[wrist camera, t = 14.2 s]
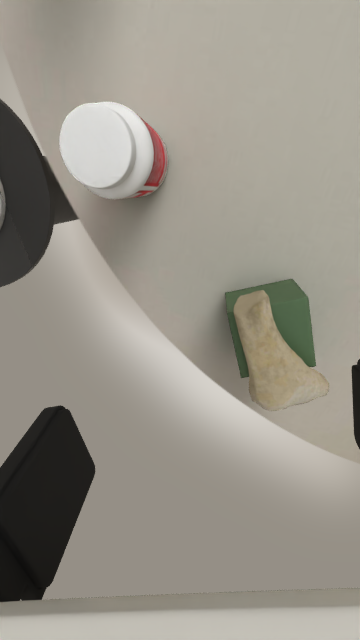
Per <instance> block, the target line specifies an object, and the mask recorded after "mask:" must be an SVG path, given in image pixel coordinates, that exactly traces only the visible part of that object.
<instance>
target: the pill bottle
mask: <svg viewBox="0 0 360 640" xmlns="http://www.w3.org/2000/svg"><path fill="white" fill-rule="evenodd" d="M59 143H60V145H59V146H60V152H61V156H62V159H63V161H64V164H65V166H66V167H67V169H68V171H69V172H70V173H71V174H72V176H73V177H74V178H75V179H77V180H78V181H79V182H81V183H82V184H83V185H84V186H85V187H86V188H87V189H88V190H89V191H91V192H92V193H94V194H96V195H98V196H100V197H103V198H107V199H125V198H134V197H142V196H146V195H149V194H151V193H152V192H154V191H155V190H156V189H158V188H159V186H160V185H161V184H162V182H163V181H164V179H165V176H166V174H167V170H168V154H167V149H166V146H165V144H164V142H163V140H162V139H161V137H160V136H159V135H158V133H157V132H156V131H155V130H154V129H153V128H151V127H150V126H149V125H148V124H147V123H146V122H145V121H144V120H143V119H142V118H140V117H139V116H138V115H137V114H136V113H135V112H134V111H132V110H131V109H129V108H128V107H126V106H124V105H122V104H119V103H115V102H99V103H86V104H82V105H80V106H78V107H76V108H75V109H73V110H72V111H71V112H70V113H69V114H68V115H67V117H66V118H65V120H64V122H63V124H62V127H61V131H60V138H59Z"/></svg>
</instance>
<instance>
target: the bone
mask: <svg viewBox="0 0 360 640" xmlns="http://www.w3.org/2000/svg"><path fill="white" fill-rule="evenodd" d="M234 316H235V320H236V324H237V328H238V333H239V336H240V340H241V343H242V346H243V350H244V353H245V357H246V361H247V365H248V370H249V392H250V395H251V398H252V400H253V401H254V402H255V403H257V404H259V405H260V406H261V407H262V408H264V409H266V410H269V411H277V410H283V409H286V408H287V407H289V406H292V405H298V404H304V403H307V402H310V401H312V400H313V399H315V398H318V397H321V396H325V395H327V393H328V392H329V383H328V382H327V380H326V379H325V378H324V376H323V375H322V374H321V373H319V372H317V371H316V370H314V369H311V368H310V367H308V366H307V365H306V364H305V363H304V362H303V360H302V359H301V358H300V357H299V356H298V355H297V354H296V353H295V352H294V351H293V350H292V349H291V348H290V347H289V346H288V344H287V343H286V342H285V341H284V339H283V338H282V336H281V334H280V332H279V331H278V329H277V327H276V324H275V322H274V319H273V316H272V310H271V306H270V301H269V297H268V295H267V294H266V293H265V291H264V290H259V291H254V292H252V293H250V294H246V295H241V296H240V297H239V298H238V299H237V302H236V304H235V305H234Z"/></svg>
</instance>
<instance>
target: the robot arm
mask: <svg viewBox="0 0 360 640" xmlns="http://www.w3.org/2000/svg"><path fill="white" fill-rule="evenodd" d="M5 211H6V203H5V194H4V190H3V185H2V183H1V180H0V229H1V227H2V224H3V222H4V218H5ZM352 390H353V417H354V436H355V440H356V443H357V445H358V447H359V449H360V359H359V360H358V362H357V365H353V366H352ZM94 474H95V465H94V462H93V460H92V458H91V456H90V454H89V452H88V450H87V447H86V445H85V443H84V441H83V439H82V436H81V434H80V432H79V430H78V428H77V426H76V424H75V421H74V419H73V417H72V415H71V413H70V411H69V410H68V409H65V407H63V406H55V407H48V408H45V409H44V410H43V411H42V412H41V413H40V415H39V416H38V417H37V419H36V420H35V421H34V423H33V424H32V425H31V427H30V428H29V429H28V431H27V432H26V434H25V435H24V436H23V438H22V439H21V440H20V442H19V443H18V444H17V446H16V447H15V448H14V450H13V451H12V452H11V454H10V455H9V457H8V458H7V459H6V461H5V462H4V463H3V465H2V466H1V467H0V640H360V588H341V589H311V590H310V589H309V590H280V591H248V592H219V593H193V594H167V595H141V596H116V597H94V598H74V599H73V598H72V599H50V600H42V597H43V595H44V592H45V590H46V587H48V586H50V584H51V583H52V581H53V579H54V576H55V574H56V572H57V569H58V567H59V564H60V562H61V559H62V556H63V554H64V551H65V549H66V546H67V544H68V541H69V539H70V536H71V534H72V531H73V528H74V526H75V523H76V521H77V518H78V516H79V513H80V511H81V508H82V505H83V503H84V501H85V498H86V495H87V493H88V490H89V488H90V485H91V483H92V480H93V478H94ZM20 599H21V600H22V601H20Z"/></svg>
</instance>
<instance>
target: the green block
mask: <svg viewBox="0 0 360 640" xmlns="http://www.w3.org/2000/svg"><path fill="white" fill-rule="evenodd" d="M259 290H264V291H265V293H266V294H267V295H268V297H269V301H270V306H271V310H272V316H273V319H274V322H275V324H276V327H277V329H278V331H279V332H280V334H281V336H282V338H283V339H284V341H285V342H286V343H287V344H288V346H289V347H290V348H291V349H292V350H293V351H294V352H295V353H296V354H297V355H298V356H299V357H300V358H301V359H302V360H303V362H304V363H305V364H306V365H307V366H308V367H314V366H316V362H315V354H314V345H313V336H312V327H311V318H310V310H309V301H308V297H307V295H306V294H305V293H304V292H303V291H302V290H301V289H300V287H299V286H298V285H297V284H296V283H295V282H294V280H293V279H289V280H284V281H279V282H275V283H270V284H265V285H261V286H256V287H251V288H246V289H242V290H237V291H232V292H228V293H225V295H226V306H227V315H228V320H229V324H230V329H231V333H232V338H233V343H234V347H235V352H236V356H237V361H238V366H239V370H240V375H241V378H244V377H249V370H248V365H247V361H246V357H245V353H244V350H243V346H242V343H241V340H240V336H239V333H238V328H237V324H236V320H235V316H234V305H235V304H236V302H237V299H238V298H239V297H240V296H241V295H246V294H250V293H252V292H254V291H259Z"/></svg>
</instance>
